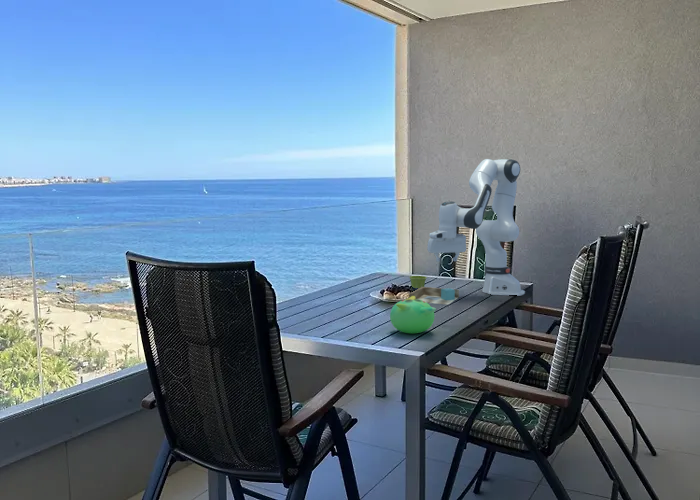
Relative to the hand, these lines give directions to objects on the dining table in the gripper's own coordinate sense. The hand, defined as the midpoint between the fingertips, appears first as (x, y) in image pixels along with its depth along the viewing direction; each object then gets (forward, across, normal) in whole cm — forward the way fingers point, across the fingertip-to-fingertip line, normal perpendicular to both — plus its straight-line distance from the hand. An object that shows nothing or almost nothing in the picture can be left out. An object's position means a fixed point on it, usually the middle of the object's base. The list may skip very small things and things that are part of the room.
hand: (446, 261), depth 321 cm
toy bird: (+22, +42, +55) cm, 72 cm away
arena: (+20, +6, -1) cm, 21 cm away
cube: (+19, -1, 0) cm, 19 cm away
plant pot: (+20, +4, -25) cm, 32 cm away
